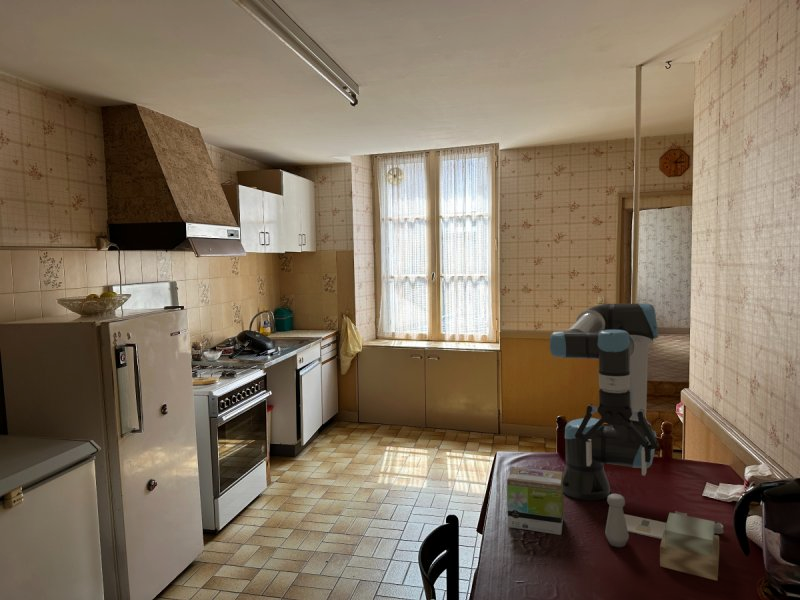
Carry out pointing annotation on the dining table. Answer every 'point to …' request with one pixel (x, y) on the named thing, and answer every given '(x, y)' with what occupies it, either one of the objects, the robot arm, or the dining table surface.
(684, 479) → the dining table surface
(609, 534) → the salt shaker
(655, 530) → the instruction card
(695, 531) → the zigzag patterned box
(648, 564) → the dining table surface
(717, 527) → the toy set
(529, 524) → the tea box
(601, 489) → the robot arm
